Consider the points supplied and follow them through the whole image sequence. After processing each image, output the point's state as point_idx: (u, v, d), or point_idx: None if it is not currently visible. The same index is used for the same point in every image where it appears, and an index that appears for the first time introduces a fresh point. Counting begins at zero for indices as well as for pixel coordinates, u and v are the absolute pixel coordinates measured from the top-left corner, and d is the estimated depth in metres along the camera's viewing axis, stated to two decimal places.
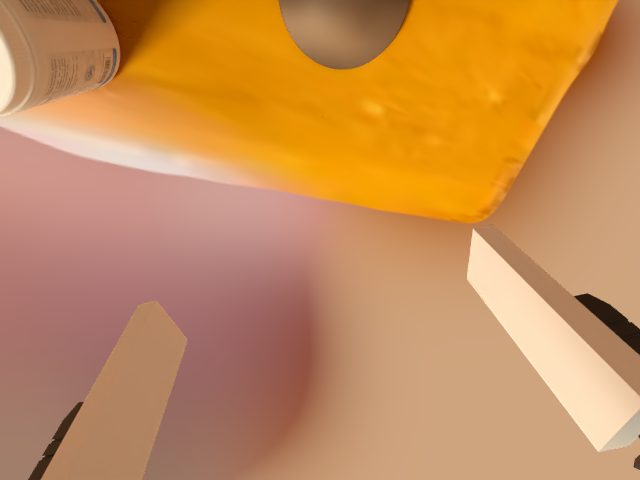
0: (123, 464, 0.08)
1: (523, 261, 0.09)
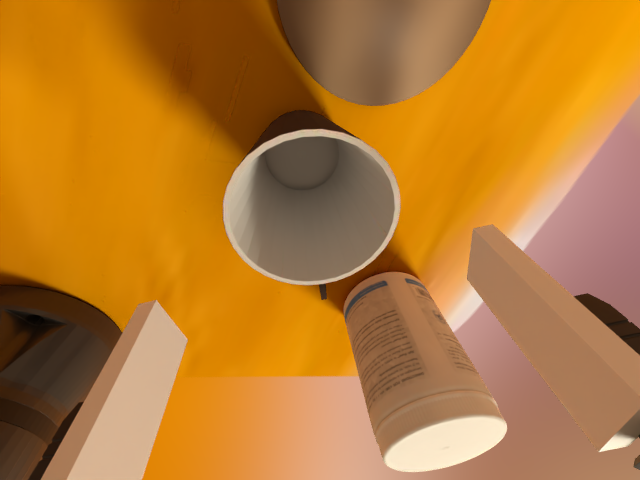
0: (123, 464, 0.08)
1: (523, 261, 0.09)
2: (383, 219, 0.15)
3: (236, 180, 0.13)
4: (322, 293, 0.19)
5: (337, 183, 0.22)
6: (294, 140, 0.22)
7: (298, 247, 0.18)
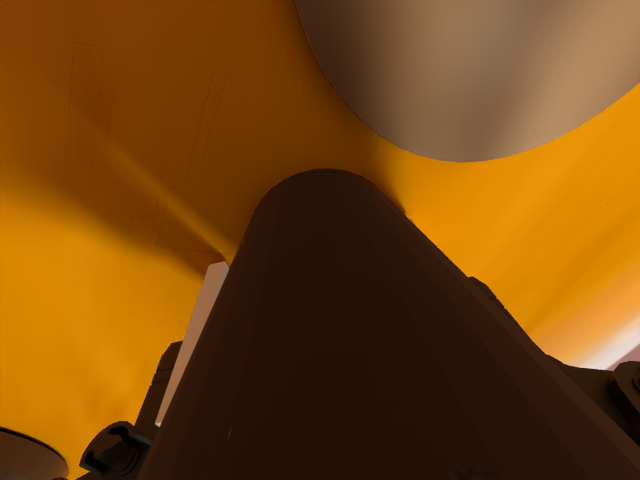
0: None
1: None
2: None
3: None
4: None
5: None
6: None
7: None
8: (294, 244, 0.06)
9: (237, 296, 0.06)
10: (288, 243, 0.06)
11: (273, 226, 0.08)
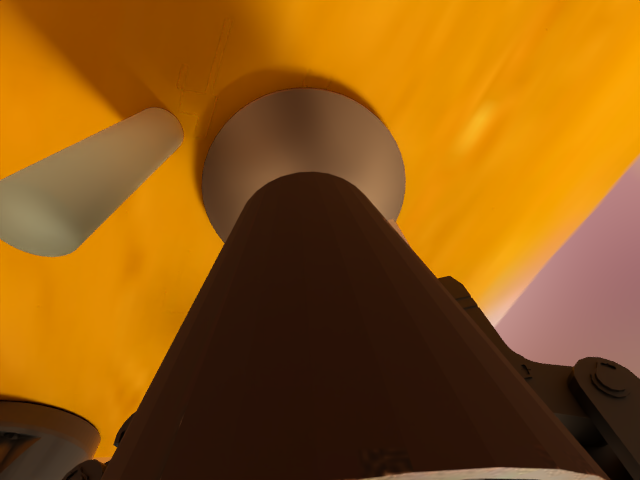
0: None
1: None
2: None
3: None
4: None
5: None
6: None
7: None
8: (265, 246, 0.07)
9: (209, 296, 0.06)
10: (260, 245, 0.07)
11: (250, 229, 0.08)
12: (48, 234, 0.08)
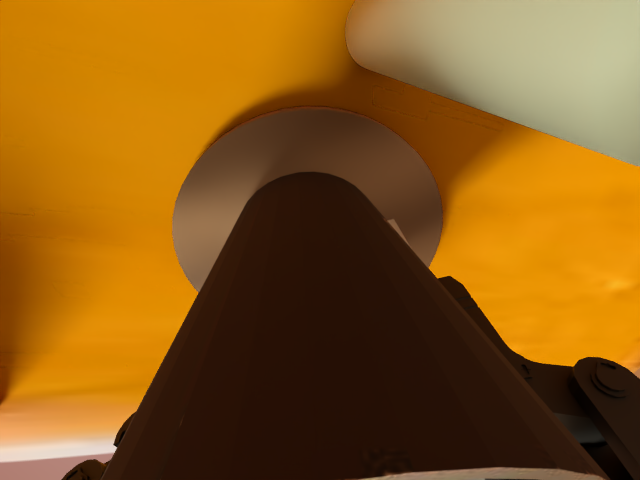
0: None
1: None
2: None
3: None
4: None
5: None
6: None
7: None
8: (266, 246, 0.07)
9: (209, 296, 0.06)
10: (260, 245, 0.07)
11: (250, 229, 0.08)
12: None
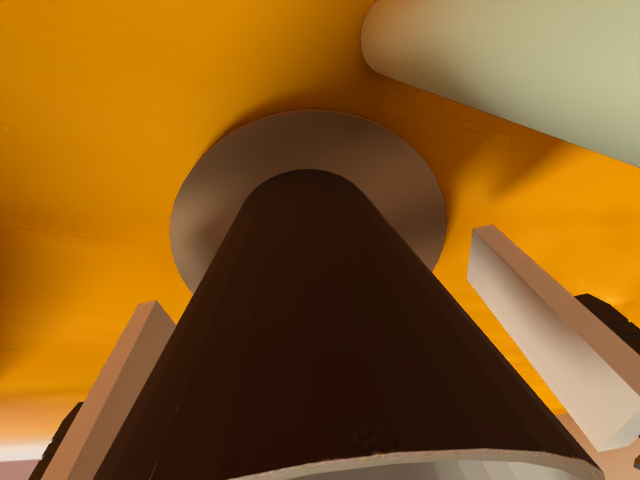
0: None
1: (523, 261, 0.09)
2: (504, 477, 0.06)
3: None
4: None
5: None
6: None
7: None
8: (263, 241, 0.07)
9: (207, 290, 0.06)
10: (258, 240, 0.07)
11: (248, 224, 0.08)
12: None
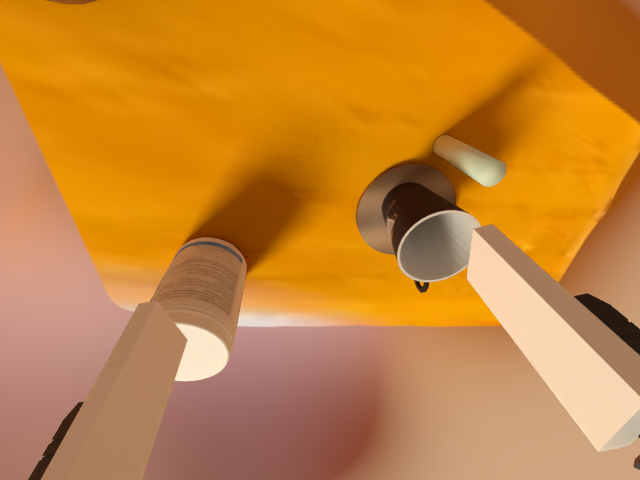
0: (123, 464, 0.08)
1: (523, 261, 0.09)
2: (469, 249, 0.30)
3: (411, 230, 0.27)
4: (425, 288, 0.33)
5: (427, 224, 0.36)
6: None
7: (414, 261, 0.33)
8: (418, 197, 0.30)
9: (409, 205, 0.30)
10: (416, 197, 0.31)
11: (408, 195, 0.32)
12: (487, 176, 0.26)
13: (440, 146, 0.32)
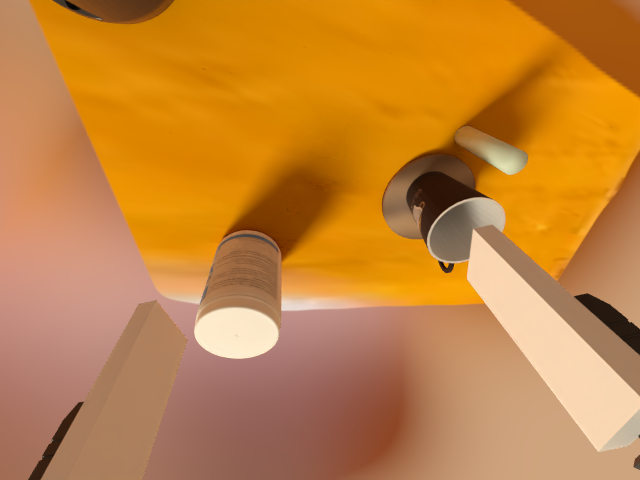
0: (123, 464, 0.08)
1: (523, 261, 0.09)
2: None
3: (440, 216, 0.30)
4: (450, 268, 0.36)
5: (449, 209, 0.39)
6: None
7: (440, 245, 0.36)
8: (444, 186, 0.33)
9: (436, 194, 0.33)
10: (442, 186, 0.33)
11: (433, 184, 0.34)
12: (510, 165, 0.28)
13: (462, 137, 0.35)
